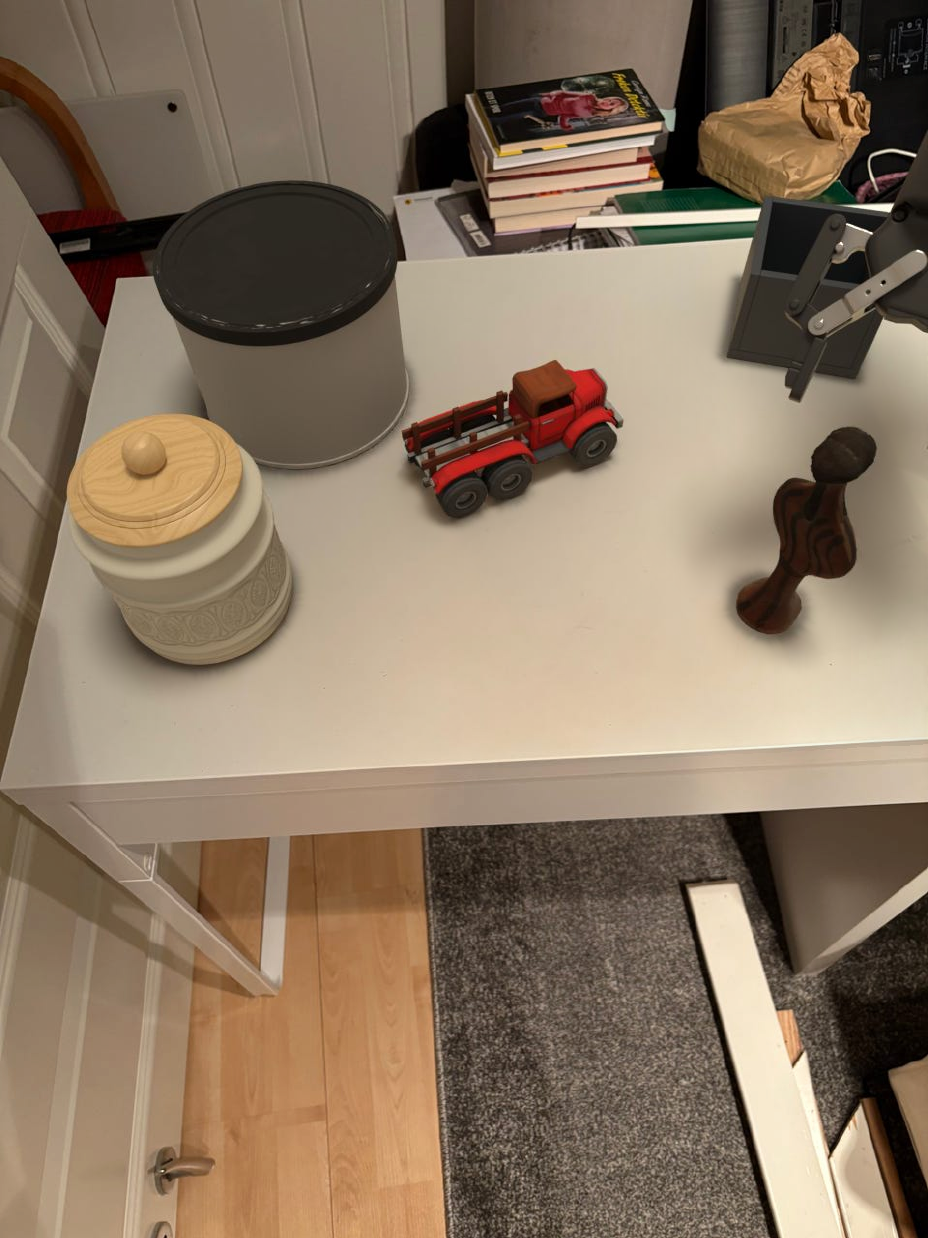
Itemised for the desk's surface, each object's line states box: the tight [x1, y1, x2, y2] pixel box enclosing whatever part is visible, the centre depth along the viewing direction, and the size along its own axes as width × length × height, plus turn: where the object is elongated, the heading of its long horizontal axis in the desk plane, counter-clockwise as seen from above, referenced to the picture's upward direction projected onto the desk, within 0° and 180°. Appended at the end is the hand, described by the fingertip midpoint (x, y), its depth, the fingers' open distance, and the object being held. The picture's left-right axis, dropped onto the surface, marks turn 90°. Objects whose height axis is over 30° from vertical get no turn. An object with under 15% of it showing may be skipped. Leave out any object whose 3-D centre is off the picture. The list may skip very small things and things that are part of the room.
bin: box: [726, 195, 890, 379], centre depth 80 cm, size 12×12×9 cm
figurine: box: [736, 426, 878, 635], centre depth 60 cm, size 7×5×18 cm
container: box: [152, 179, 410, 470], centre depth 75 cm, size 19×19×15 cm
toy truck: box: [401, 359, 624, 519], centre depth 73 cm, size 8×18×8 cm, turn 116°
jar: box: [66, 413, 293, 666], centre depth 62 cm, size 13×13×18 cm
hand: (862, 424), depth 53 cm, fingers open, 8 cm apart
